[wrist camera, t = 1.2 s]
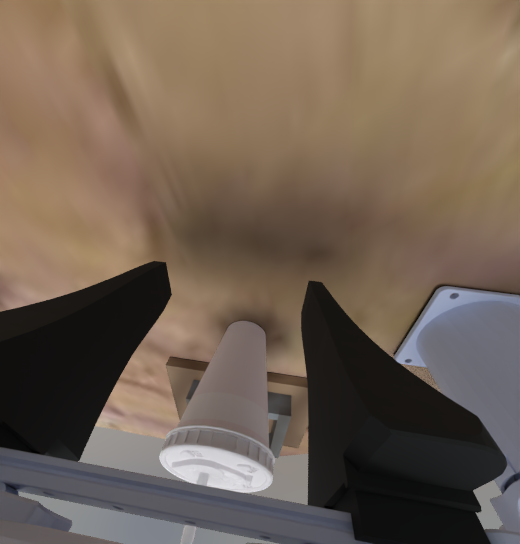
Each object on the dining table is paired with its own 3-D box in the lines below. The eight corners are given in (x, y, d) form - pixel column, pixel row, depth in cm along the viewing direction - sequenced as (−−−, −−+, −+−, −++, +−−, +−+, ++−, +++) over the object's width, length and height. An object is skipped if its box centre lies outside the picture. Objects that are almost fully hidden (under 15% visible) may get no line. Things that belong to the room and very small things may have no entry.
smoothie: (212, 303, 18) (67, 606, 6) (287, 316, 18) (280, 655, 6) (212, 351, 22) (117, 606, 10) (274, 363, 21) (256, 638, 10)
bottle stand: (321, 380, 22) (325, 412, 19) (298, 439, 29) (298, 467, 27) (170, 356, 23) (155, 383, 20) (184, 419, 30) (175, 445, 28)
